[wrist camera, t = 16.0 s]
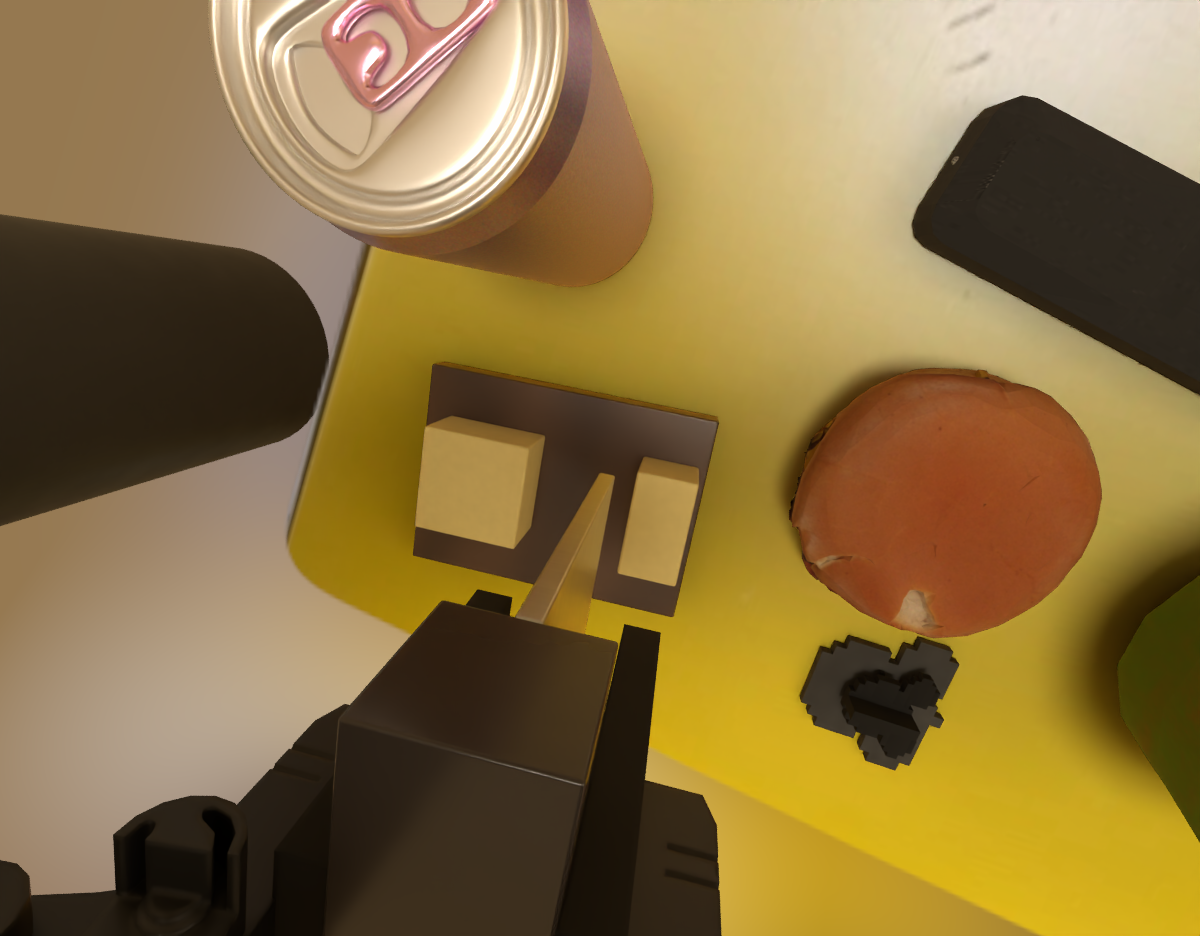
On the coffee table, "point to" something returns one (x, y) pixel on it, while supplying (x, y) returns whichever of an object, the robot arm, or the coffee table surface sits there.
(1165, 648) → the apple
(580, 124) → the beverage can
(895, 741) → the block figure
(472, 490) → the butter block
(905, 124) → the coffee table surface
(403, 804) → the dark handled dough scraper
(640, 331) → the coffee table surface
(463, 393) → the board
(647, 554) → the block
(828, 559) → the burger
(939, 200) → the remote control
